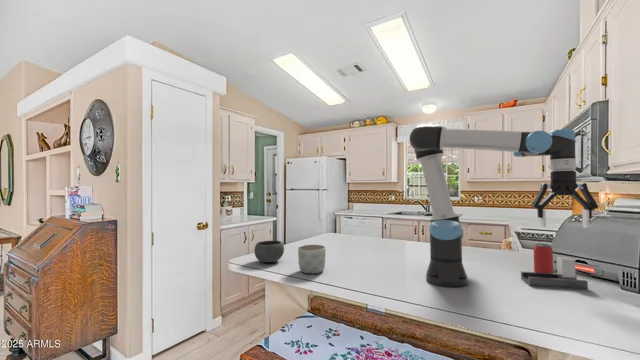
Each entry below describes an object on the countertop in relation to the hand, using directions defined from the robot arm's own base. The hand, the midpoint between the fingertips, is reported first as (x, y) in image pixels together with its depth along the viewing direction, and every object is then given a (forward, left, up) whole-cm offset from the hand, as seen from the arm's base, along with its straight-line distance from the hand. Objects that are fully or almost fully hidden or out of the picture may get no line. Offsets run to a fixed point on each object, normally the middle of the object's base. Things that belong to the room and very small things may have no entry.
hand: (564, 227), depth 112 cm
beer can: (-1, +15, -22) cm, 27 cm away
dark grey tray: (-4, 0, -22) cm, 22 cm away
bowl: (-124, +7, -22) cm, 126 cm away
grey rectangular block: (0, 0, -22) cm, 22 cm away
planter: (-98, -4, -22) cm, 101 cm away
